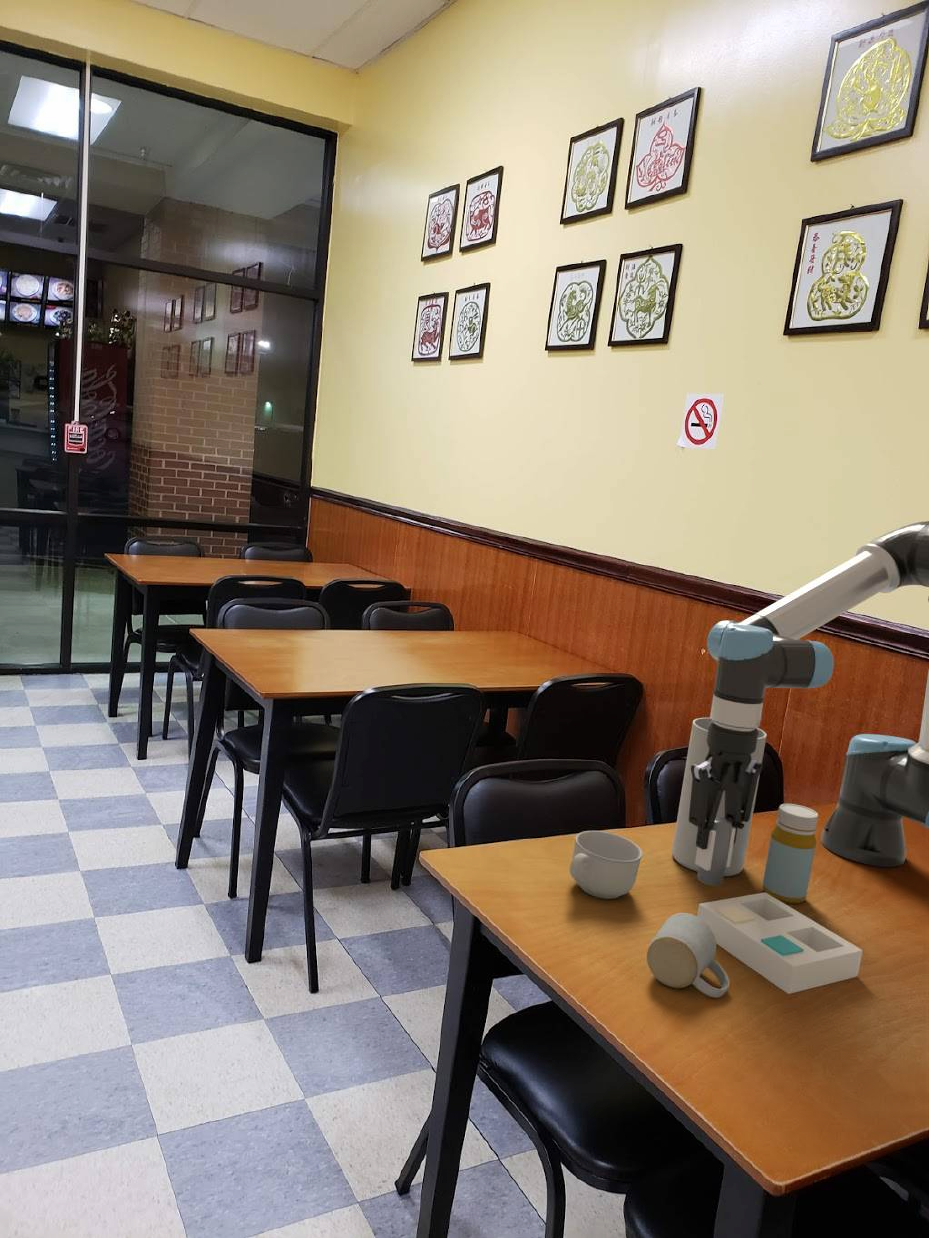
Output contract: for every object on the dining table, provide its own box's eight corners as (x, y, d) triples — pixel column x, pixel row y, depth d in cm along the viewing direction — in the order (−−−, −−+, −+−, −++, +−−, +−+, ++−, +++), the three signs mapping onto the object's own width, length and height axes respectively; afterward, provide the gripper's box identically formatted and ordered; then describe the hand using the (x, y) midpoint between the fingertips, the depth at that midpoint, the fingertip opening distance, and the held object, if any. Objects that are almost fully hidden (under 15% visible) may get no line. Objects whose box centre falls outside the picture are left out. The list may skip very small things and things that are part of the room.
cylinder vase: (657, 851, 165) (678, 718, 161) (709, 845, 171) (730, 716, 167) (704, 881, 154) (727, 740, 150) (758, 874, 160) (782, 737, 156)
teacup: (604, 871, 154) (610, 826, 152) (649, 899, 145) (657, 852, 143) (539, 884, 146) (546, 837, 144) (583, 915, 137) (591, 865, 136)
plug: (710, 872, 148) (719, 814, 147) (728, 883, 145) (737, 824, 143) (691, 875, 147) (700, 817, 145) (709, 886, 143) (718, 826, 141)
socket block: (761, 915, 144) (765, 890, 143) (857, 976, 128) (863, 948, 127) (694, 928, 137) (699, 901, 136) (788, 994, 121) (793, 964, 121)
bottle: (808, 908, 148) (824, 821, 146) (764, 900, 150) (779, 813, 147) (801, 890, 155) (817, 807, 153) (759, 882, 156) (774, 799, 154)
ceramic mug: (639, 979, 121) (648, 926, 119) (658, 954, 128) (667, 904, 126) (718, 1011, 116) (729, 956, 114) (733, 983, 123) (744, 931, 121)
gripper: (754, 715, 149) (733, 849, 153) (677, 719, 141) (657, 861, 145) (790, 728, 142) (767, 868, 146) (711, 734, 134) (689, 882, 138)
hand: (712, 864), depth 145 cm, fingers closed on plug, 3 cm apart
